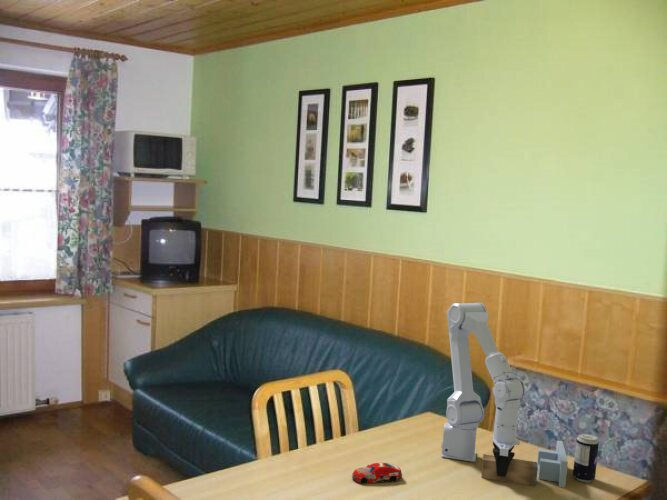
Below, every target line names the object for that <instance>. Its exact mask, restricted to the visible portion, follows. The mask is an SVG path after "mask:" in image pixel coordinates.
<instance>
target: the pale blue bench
mask: <svg viewBox="0 0 667 500" xmlns="http://www.w3.org/2000/svg"><path fill="white" fill-rule="evenodd" d="M555 444H556V447H555V450H549V449H544V448H538V450H537V451H538V452H537V461H536V462H537V466H538V471H537V478H538V480H543V481H544V480H545V481H550V482H557V483H558V487H559V488H564V489H565V488H566V482H567V473H568V472H567V471H568V465H569V464H568V461H569V460H568V457H567V453H566V449H565V446H564V442H563V440H556V443H555Z"/></svg>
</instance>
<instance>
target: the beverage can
mask: <svg viewBox="0 0 667 500" xmlns="http://www.w3.org/2000/svg"><path fill="white" fill-rule="evenodd" d="M598 438H599V437H597V436H596V435H594V434H591V433H585V432H582V433H579V434H578V436H577V437H576V442H575V452H574V460H573V469H572V470H573V471H572V475H573V476H574V478H575V479H576V480H577V481H578V482H582V483H591V482H593V481H594V480H595V479H596V474H597V473H596V472H597V465H598V463H597V462H598V455H599V443H600V442H599V440H598Z"/></svg>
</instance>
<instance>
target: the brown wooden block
mask: <svg viewBox="0 0 667 500" xmlns="http://www.w3.org/2000/svg"><path fill="white" fill-rule="evenodd" d="M481 466H482V467H481V478H483V479H488V480H495V481H499V482H500V481H501V482H505V483H506V482H507V483H514V484H519V485H527V486H533V487H536V486H537V481H538V480H537V479H538V466H537V461H532V460H525V459H519V458H513V459H512V460H511V462H510V464H509V467H508V470H507V474H506V476H505V477H502V476H497V470H496V460H495V457H494V455H493V454H492V455H491V454H483V457H482V465H481Z"/></svg>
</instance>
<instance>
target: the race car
mask: <svg viewBox="0 0 667 500" xmlns="http://www.w3.org/2000/svg"><path fill="white" fill-rule="evenodd" d="M351 478H352V479H353V481H355V482H357V483H361V485H365V484H370V483H372V484H373V483H374V484H375V483H388V482H390V483H395V482H396V481H397V482H398V481H400V480H402V478H403V473H402V469H401V468H400V466H398V465H395V464H391V463H389V462H374V463H371V464H367V466H364V467H363V466H362V467H360V468H359V467H358V468H356V469H354V471H353V472H352V475H351Z"/></svg>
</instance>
